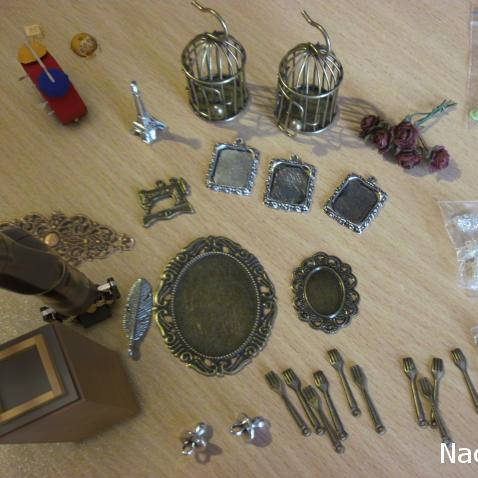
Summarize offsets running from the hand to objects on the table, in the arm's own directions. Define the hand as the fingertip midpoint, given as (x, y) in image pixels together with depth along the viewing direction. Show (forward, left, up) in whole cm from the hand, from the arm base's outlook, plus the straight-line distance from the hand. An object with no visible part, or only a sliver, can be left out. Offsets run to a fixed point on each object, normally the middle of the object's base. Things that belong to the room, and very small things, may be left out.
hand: (94, 310), depth 110 cm
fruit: (+20, +59, -1) cm, 62 cm away
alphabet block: (+10, +68, -1) cm, 69 cm away
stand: (-5, -16, -1) cm, 17 cm away
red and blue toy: (+9, +47, -1) cm, 48 cm away
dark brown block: (0, 0, -1) cm, 1 cm away
